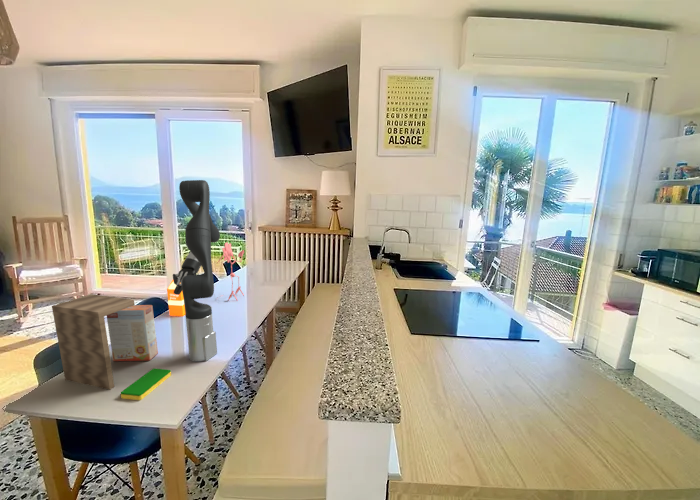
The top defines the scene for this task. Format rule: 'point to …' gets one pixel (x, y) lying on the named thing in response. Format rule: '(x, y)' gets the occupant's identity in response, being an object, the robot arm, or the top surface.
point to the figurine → (227, 256)
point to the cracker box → (133, 334)
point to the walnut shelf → (86, 338)
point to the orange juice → (175, 301)
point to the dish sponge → (145, 384)
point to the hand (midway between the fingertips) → (176, 294)
